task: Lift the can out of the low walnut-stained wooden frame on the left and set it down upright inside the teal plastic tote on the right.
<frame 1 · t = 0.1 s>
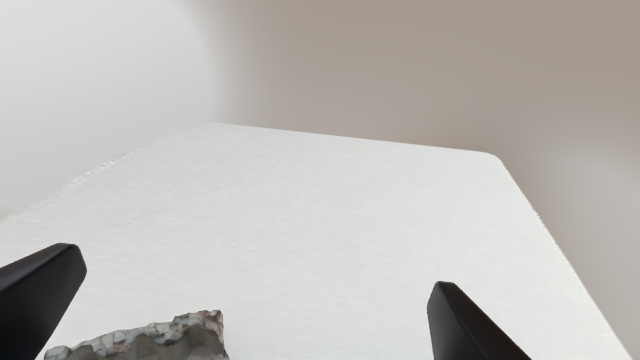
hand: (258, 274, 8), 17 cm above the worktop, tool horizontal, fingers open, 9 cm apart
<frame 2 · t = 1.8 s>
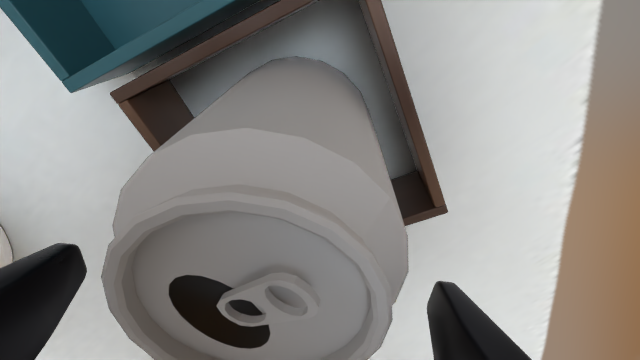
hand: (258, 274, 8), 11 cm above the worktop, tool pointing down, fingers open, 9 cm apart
walnut frame: (300, 127, 17), on the worktop
can: (300, 126, 17), resting in walnut frame
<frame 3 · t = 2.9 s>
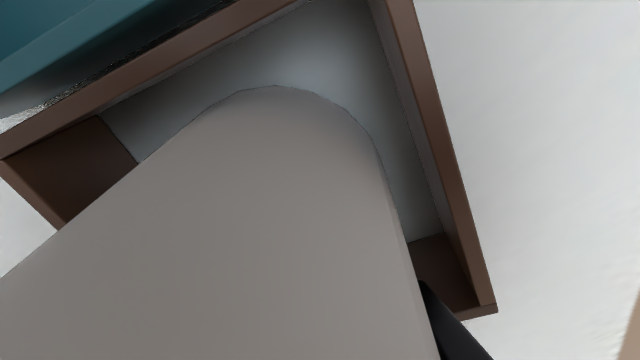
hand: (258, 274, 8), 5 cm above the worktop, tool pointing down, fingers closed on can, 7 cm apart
walnut frame: (284, 177, 12), on the worktop
can: (285, 175, 13), resting in walnut frame, touching gripper
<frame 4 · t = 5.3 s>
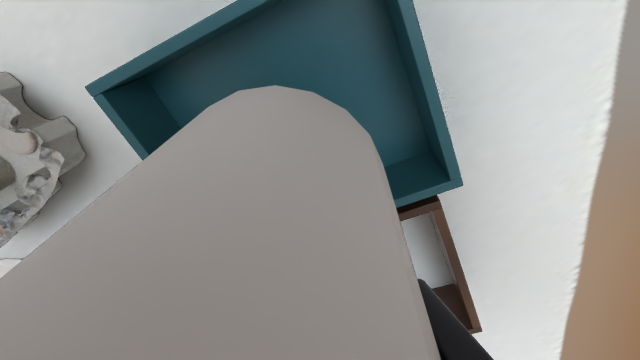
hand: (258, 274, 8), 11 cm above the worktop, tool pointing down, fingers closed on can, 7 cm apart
walnut frame: (367, 256, 23), on the worktop
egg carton: (14, 153, 20), on the worktop
can: (285, 175, 13), point 6 cm above the worktop, touching gripper
teal tote: (294, 111, 18), on the worktop
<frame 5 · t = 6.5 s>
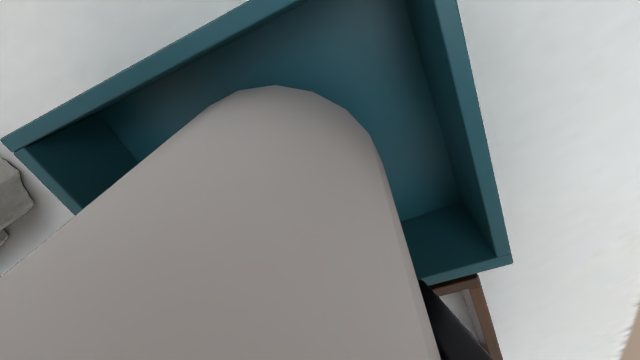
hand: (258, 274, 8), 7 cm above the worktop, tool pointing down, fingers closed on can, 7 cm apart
walnut frame: (378, 314, 19), on the worktop
can: (285, 175, 13), point 2 cm above the worktop, touching gripper
teal tote: (290, 154, 14), on the worktop
when the fingers open (6 cm above the worktop, at t = 7.6 s): can stays where it is, resting on teal tote.
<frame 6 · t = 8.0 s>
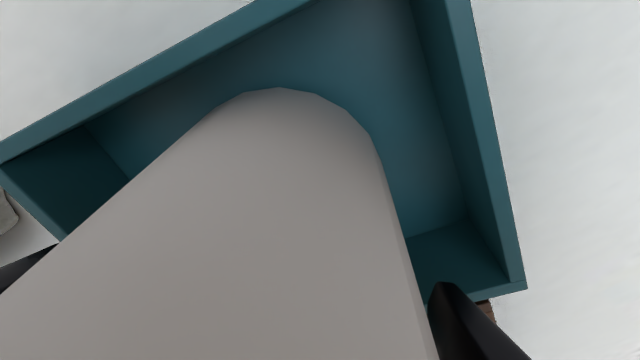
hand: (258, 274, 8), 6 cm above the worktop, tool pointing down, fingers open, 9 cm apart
can: (288, 173, 13), resting on teal tote
teal tote: (288, 168, 13), on the worktop
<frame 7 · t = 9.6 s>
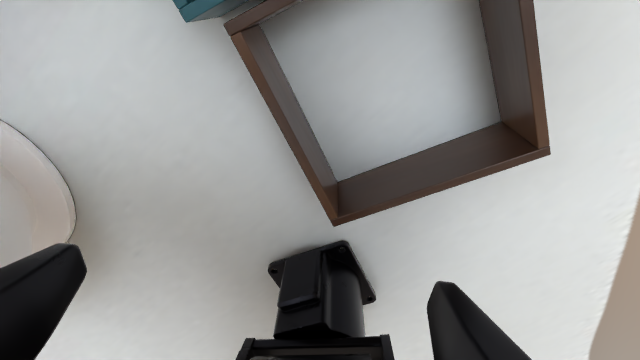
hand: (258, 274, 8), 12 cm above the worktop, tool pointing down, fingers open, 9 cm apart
walnut frame: (387, 75, 17), on the worktop
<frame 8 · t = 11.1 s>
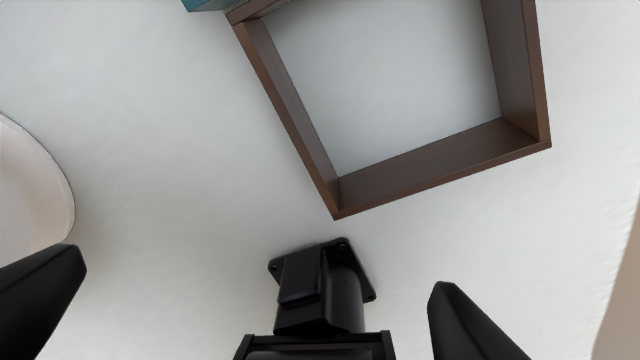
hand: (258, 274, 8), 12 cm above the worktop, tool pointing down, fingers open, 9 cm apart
walnut frame: (388, 69, 17), on the worktop
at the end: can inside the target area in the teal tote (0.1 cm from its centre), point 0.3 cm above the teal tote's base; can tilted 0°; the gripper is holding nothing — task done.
